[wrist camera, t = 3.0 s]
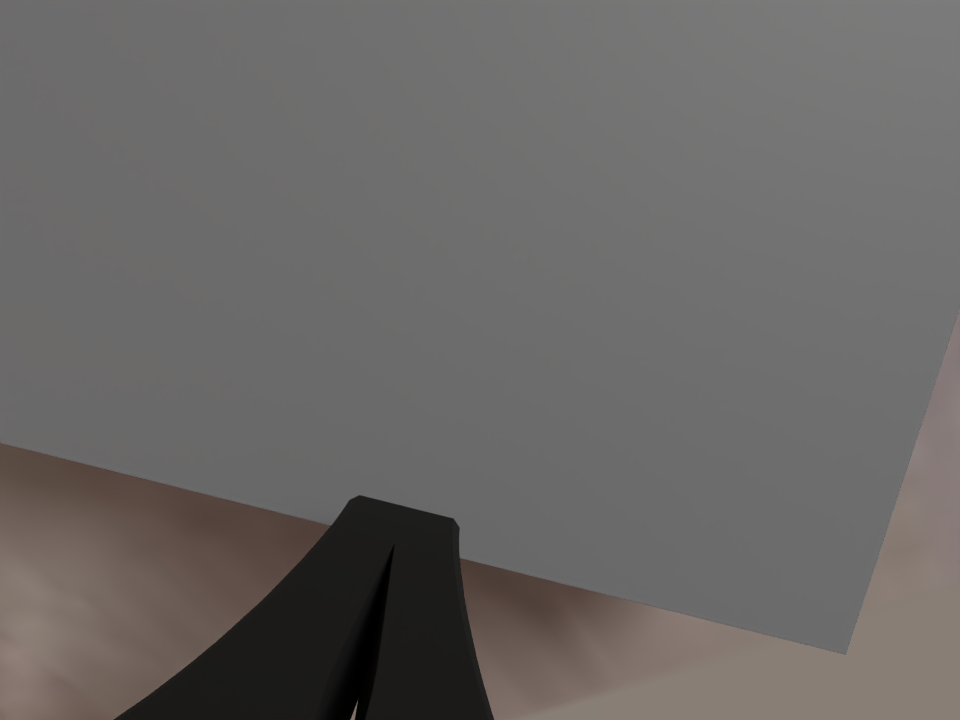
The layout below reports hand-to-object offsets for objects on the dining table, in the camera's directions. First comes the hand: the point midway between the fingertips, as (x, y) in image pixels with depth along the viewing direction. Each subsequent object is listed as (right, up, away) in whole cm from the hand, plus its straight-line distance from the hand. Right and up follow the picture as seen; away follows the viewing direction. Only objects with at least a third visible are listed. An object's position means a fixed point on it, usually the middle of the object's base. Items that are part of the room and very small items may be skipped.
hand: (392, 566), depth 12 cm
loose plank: (+1, +6, +3) cm, 7 cm away
